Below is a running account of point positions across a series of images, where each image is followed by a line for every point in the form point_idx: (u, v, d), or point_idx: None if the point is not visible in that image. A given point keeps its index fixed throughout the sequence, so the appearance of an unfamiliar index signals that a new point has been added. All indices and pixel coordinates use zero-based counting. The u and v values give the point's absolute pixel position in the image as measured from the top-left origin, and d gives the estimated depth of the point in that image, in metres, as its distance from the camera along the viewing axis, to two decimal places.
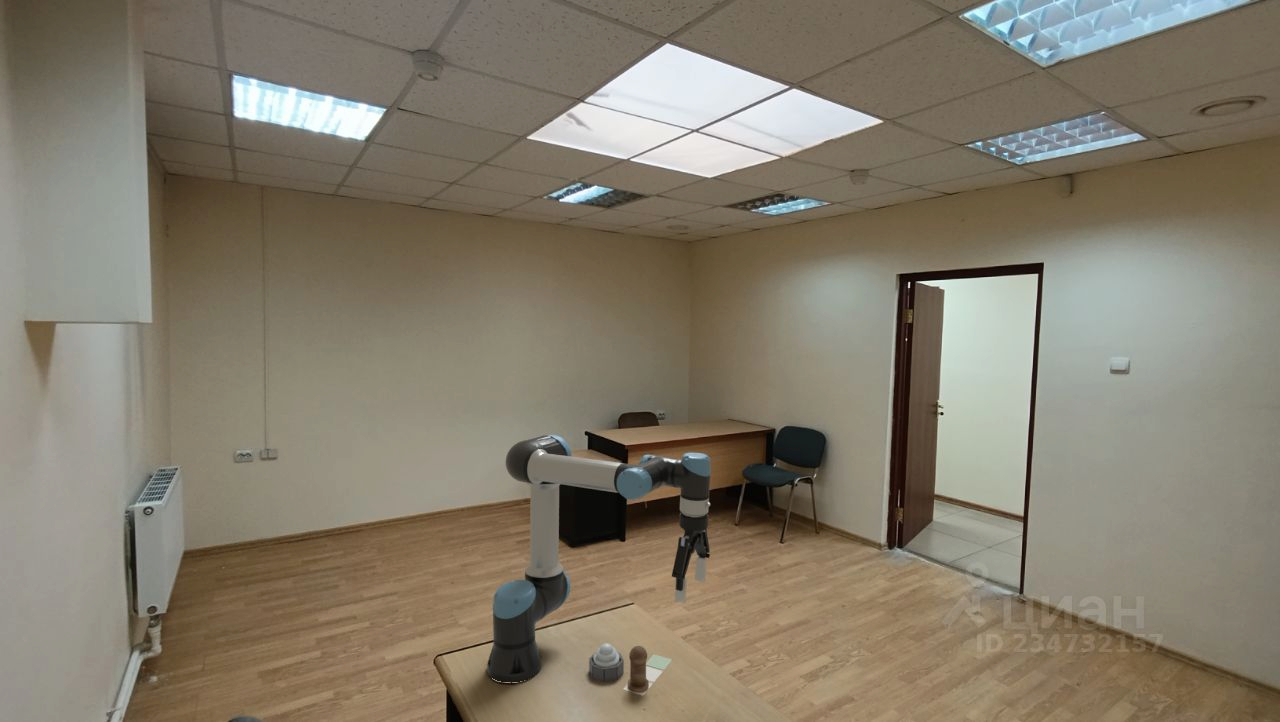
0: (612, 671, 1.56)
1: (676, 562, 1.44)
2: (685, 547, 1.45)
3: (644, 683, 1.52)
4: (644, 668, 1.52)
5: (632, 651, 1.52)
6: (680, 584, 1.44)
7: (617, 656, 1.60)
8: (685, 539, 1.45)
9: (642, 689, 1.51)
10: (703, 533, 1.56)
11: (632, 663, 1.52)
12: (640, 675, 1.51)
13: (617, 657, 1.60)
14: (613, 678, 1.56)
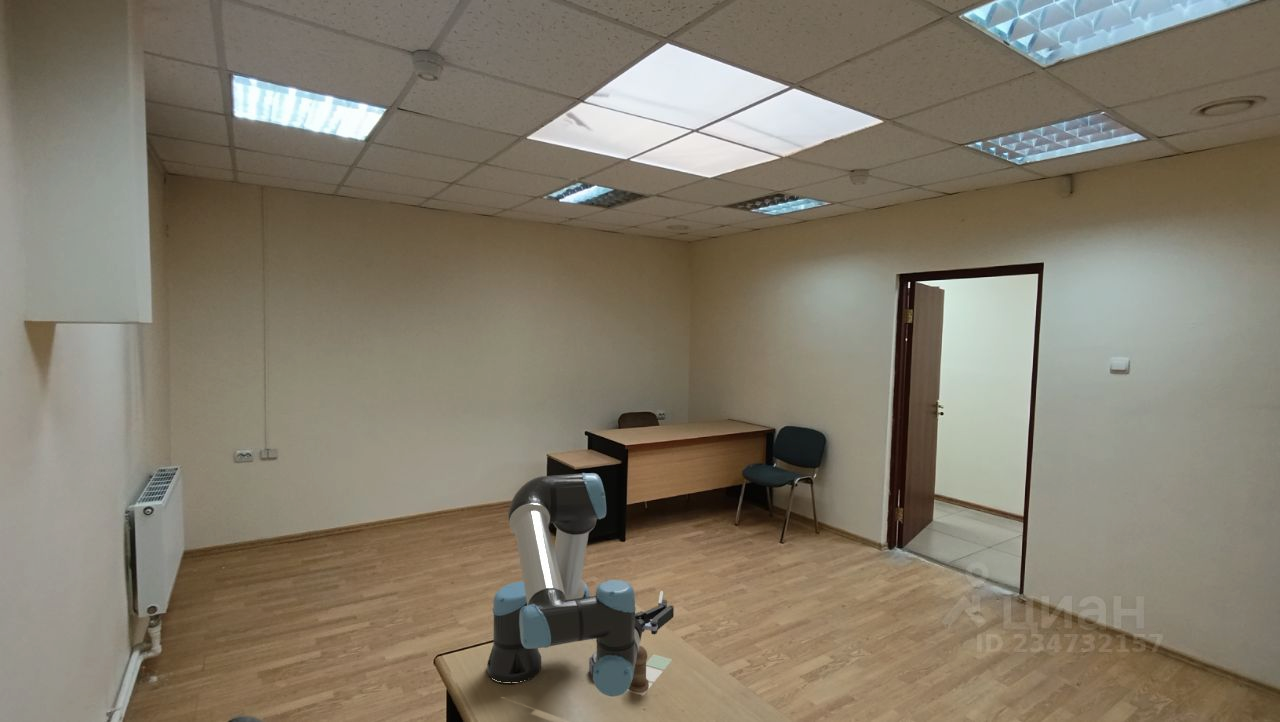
0: None
1: None
2: None
3: (644, 683, 1.52)
4: (644, 668, 1.52)
5: None
6: None
7: None
8: None
9: (642, 689, 1.51)
10: None
11: None
12: (640, 675, 1.51)
13: None
14: None
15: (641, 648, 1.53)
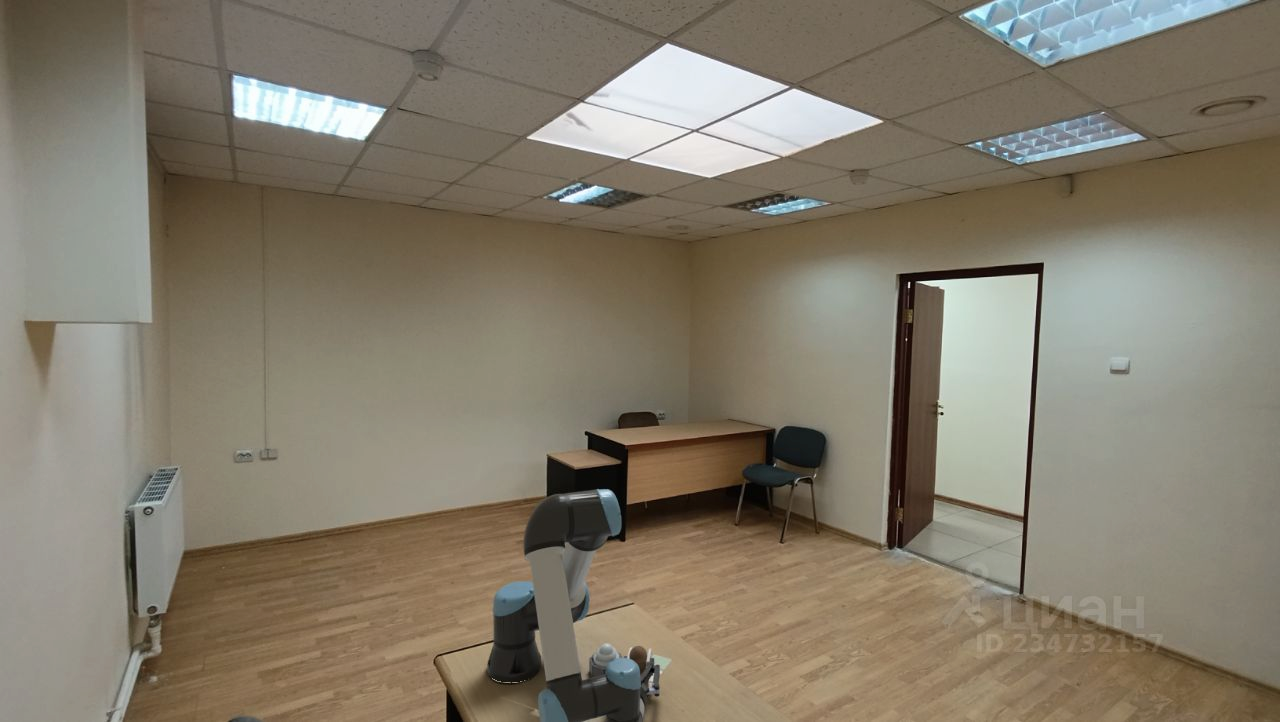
0: None
1: None
2: None
3: None
4: (644, 668, 1.52)
5: (632, 651, 1.52)
6: None
7: (617, 656, 1.60)
8: None
9: None
10: None
11: None
12: None
13: (617, 657, 1.60)
14: None
15: (641, 648, 1.53)
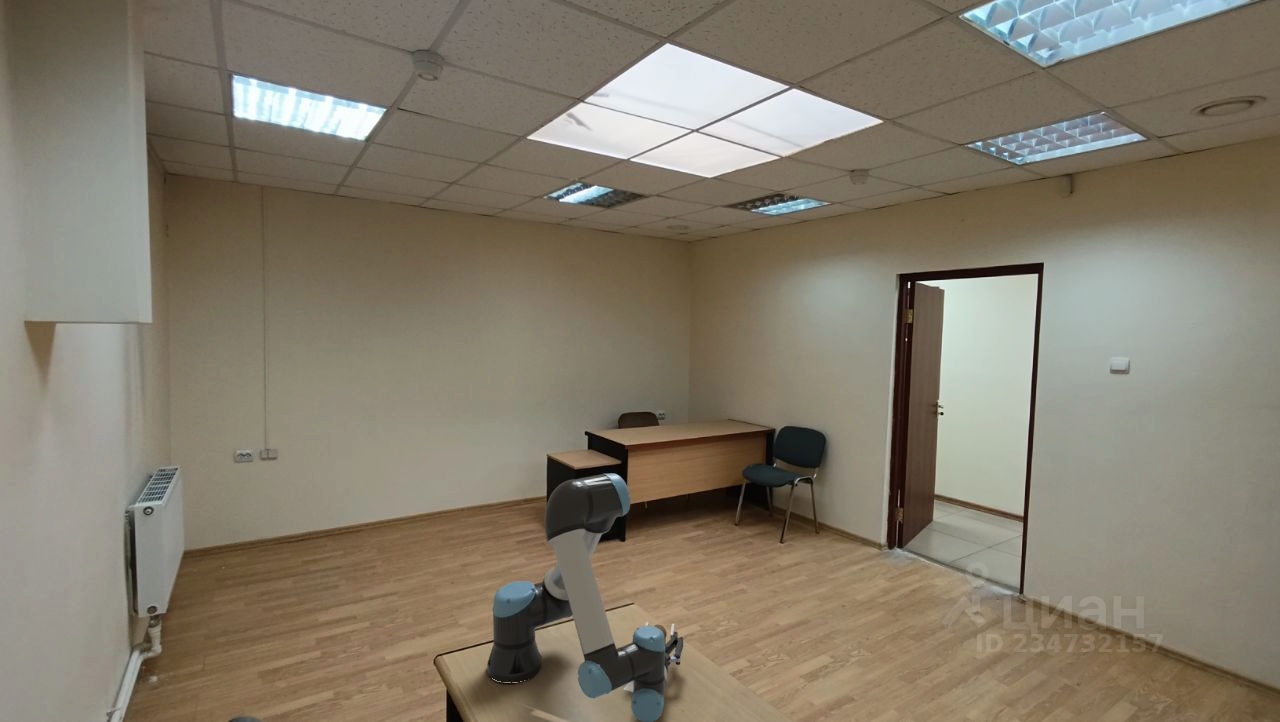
0: None
1: None
2: None
3: None
4: None
5: None
6: None
7: None
8: None
9: None
10: None
11: None
12: None
13: None
14: None
15: (661, 626, 1.64)
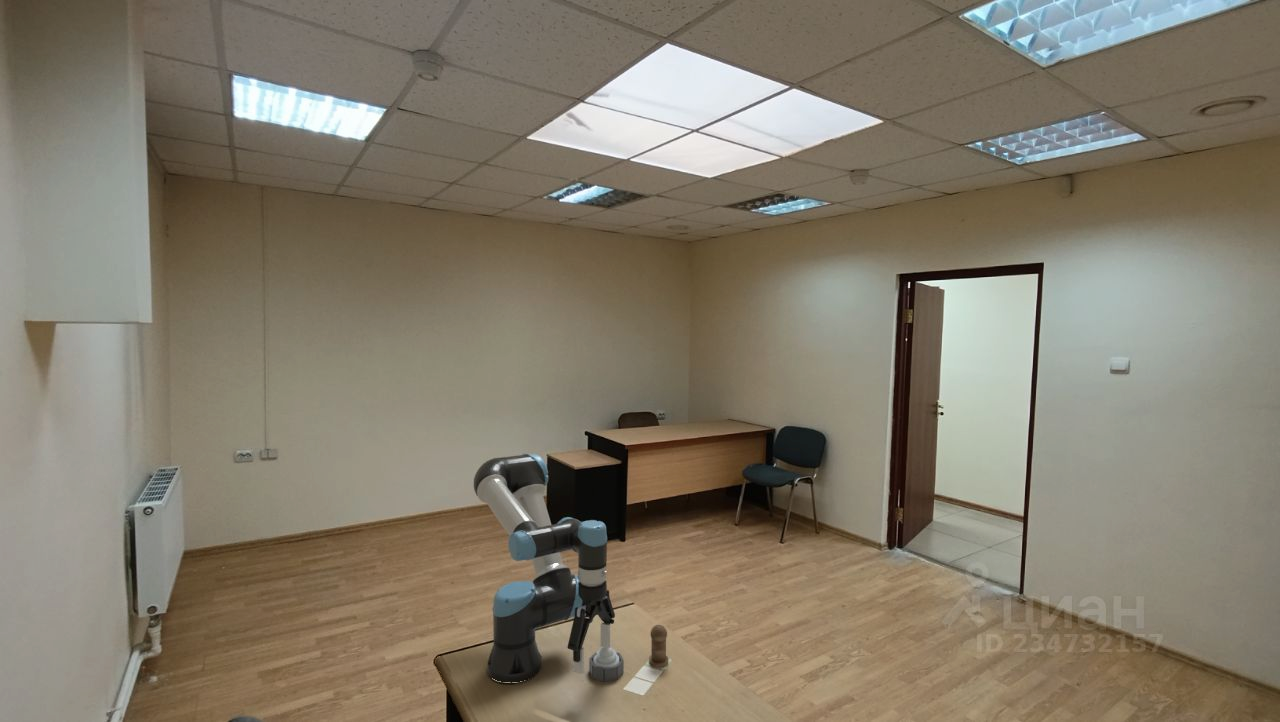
0: (612, 671, 1.56)
1: (572, 633, 1.45)
2: (581, 618, 1.46)
3: (664, 659, 1.64)
4: (664, 645, 1.64)
5: (653, 629, 1.64)
6: (577, 655, 1.45)
7: (617, 658, 1.60)
8: (581, 610, 1.47)
9: (663, 664, 1.63)
10: (605, 599, 1.58)
11: (653, 640, 1.63)
12: (660, 651, 1.63)
13: (617, 659, 1.60)
14: (613, 678, 1.56)
15: (661, 627, 1.64)
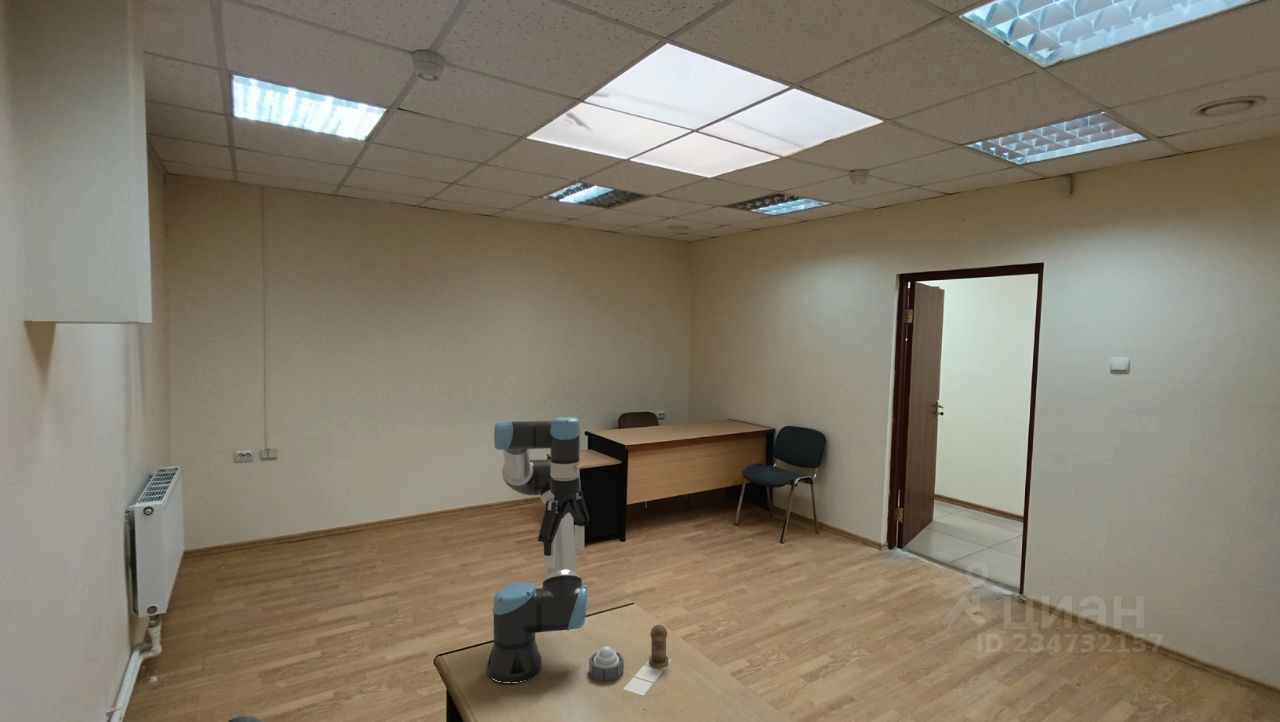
0: (612, 671, 1.56)
1: (542, 526, 1.42)
2: (552, 511, 1.42)
3: (664, 659, 1.64)
4: (664, 645, 1.64)
5: (653, 629, 1.64)
6: (547, 549, 1.42)
7: (617, 659, 1.60)
8: (552, 503, 1.43)
9: (663, 664, 1.63)
10: (579, 500, 1.54)
11: (653, 640, 1.63)
12: (660, 651, 1.63)
13: (617, 660, 1.60)
14: (613, 678, 1.56)
15: (661, 626, 1.64)
